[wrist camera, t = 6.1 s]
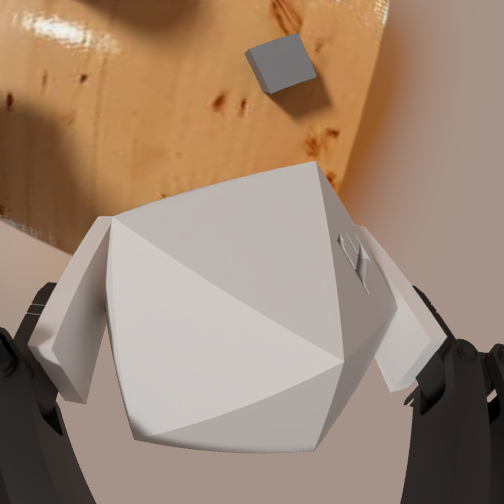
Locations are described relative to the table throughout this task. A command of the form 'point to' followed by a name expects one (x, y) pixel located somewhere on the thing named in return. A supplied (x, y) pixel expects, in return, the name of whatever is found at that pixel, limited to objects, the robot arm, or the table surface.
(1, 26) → the table surface
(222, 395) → the die
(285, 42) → the grey cube
